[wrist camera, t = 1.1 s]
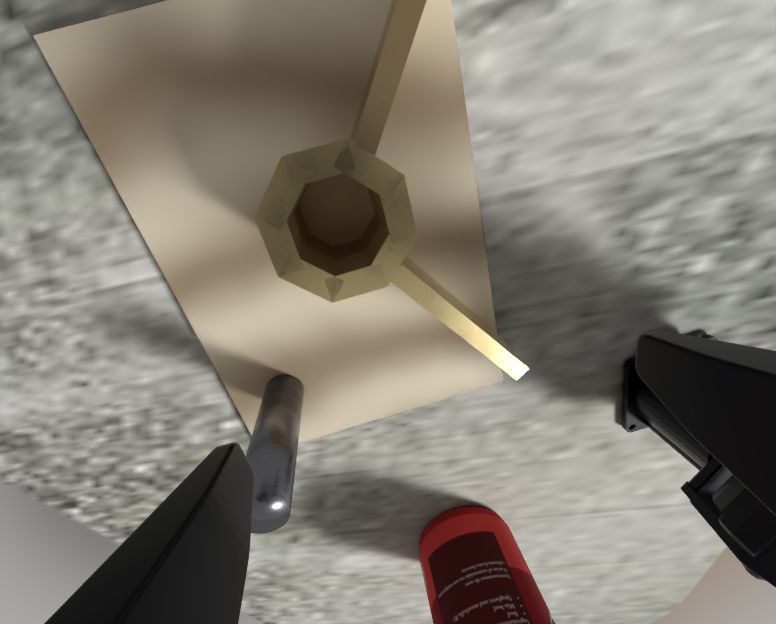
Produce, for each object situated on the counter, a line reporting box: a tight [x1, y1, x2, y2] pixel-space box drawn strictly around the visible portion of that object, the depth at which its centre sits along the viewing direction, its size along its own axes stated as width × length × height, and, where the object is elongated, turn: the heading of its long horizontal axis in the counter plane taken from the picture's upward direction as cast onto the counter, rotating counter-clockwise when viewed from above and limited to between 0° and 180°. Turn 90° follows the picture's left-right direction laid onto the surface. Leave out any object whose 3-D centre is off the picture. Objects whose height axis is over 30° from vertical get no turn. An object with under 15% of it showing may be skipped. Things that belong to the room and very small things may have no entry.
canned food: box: [419, 506, 555, 624], centre depth 25 cm, size 8×8×11 cm
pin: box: [246, 374, 304, 534], centre depth 17 cm, size 2×2×8 cm
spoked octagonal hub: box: [254, 0, 529, 380], centre depth 15 cm, size 18×9×5 cm, turn 14°
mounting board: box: [33, 0, 504, 443], centre depth 19 cm, size 22×16×1 cm
